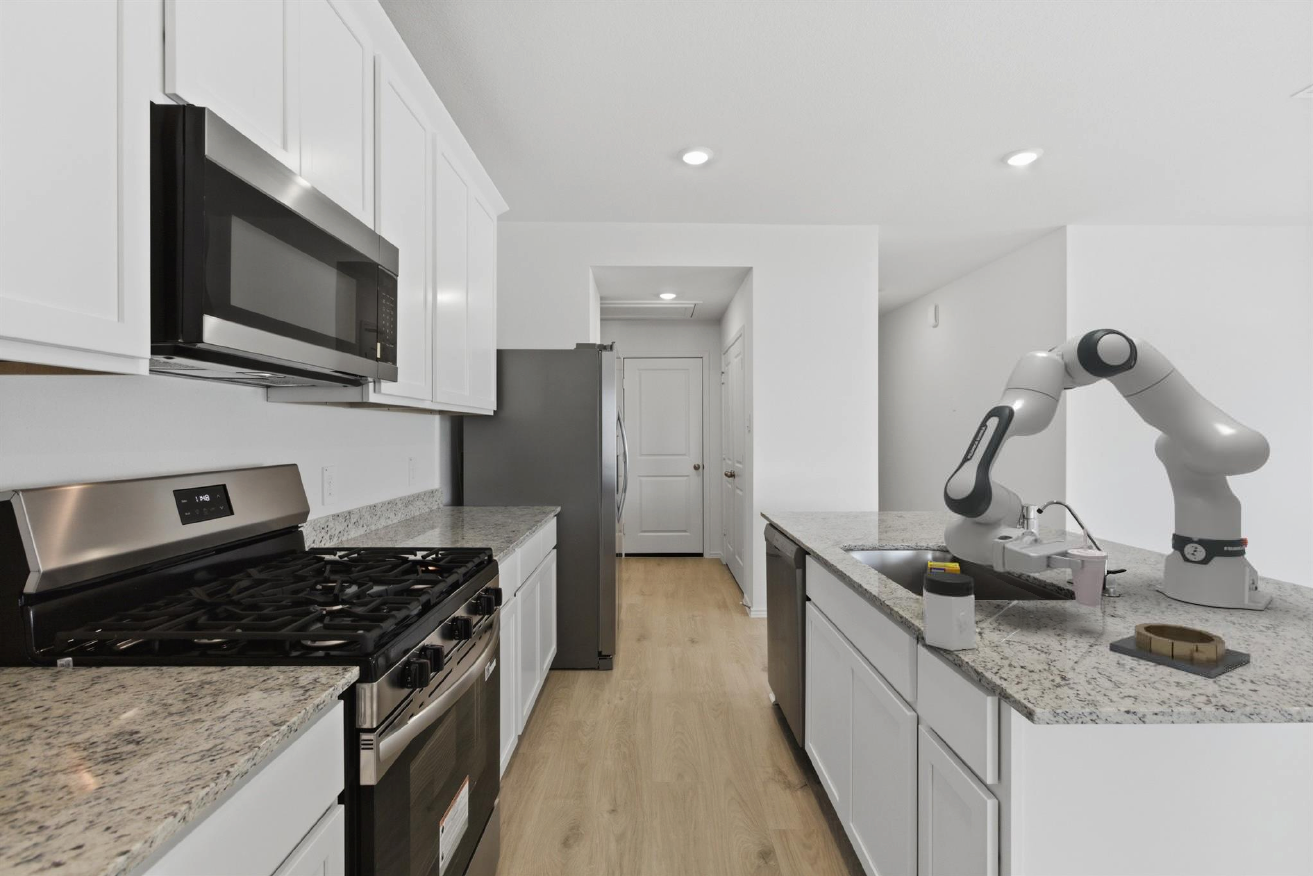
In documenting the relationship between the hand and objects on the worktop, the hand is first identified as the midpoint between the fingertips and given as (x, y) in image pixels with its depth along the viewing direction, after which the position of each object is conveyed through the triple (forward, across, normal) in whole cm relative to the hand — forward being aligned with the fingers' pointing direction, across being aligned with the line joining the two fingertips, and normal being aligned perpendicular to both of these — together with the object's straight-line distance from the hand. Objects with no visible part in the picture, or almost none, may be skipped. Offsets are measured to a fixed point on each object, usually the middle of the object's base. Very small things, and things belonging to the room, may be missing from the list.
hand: (1092, 562), depth 116 cm
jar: (-10, +29, -13) cm, 33 cm away
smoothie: (-1, 0, -8) cm, 8 cm away
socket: (+13, 0, -13) cm, 19 cm away
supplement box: (-20, +17, -13) cm, 29 cm away
